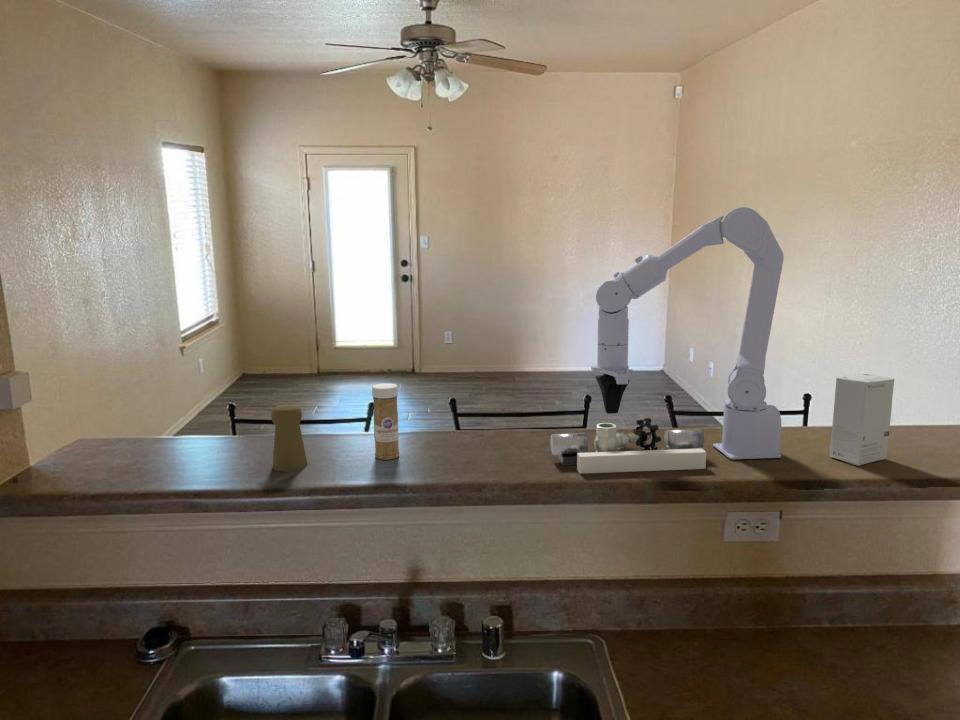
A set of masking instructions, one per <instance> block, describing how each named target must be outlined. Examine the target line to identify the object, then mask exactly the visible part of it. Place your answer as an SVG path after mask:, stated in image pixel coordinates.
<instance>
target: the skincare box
mask: <svg viewBox="0 0 960 720" xmlns="http://www.w3.org/2000/svg"><path fill="white" fill-rule="evenodd" d="M894 386H895V378H893V377H888V376H887V377H886V376H882V375H876V374H875V375H874V374H868V373H863V374H862V373H861V374H850V375H843V376H837V377H836V379H835V391H834V403H833V414H832V415H833V416H832V424H831V426H832V427H831V436H830V448H829V457H830V458H834V459H837V460H840V461H843V462H845V463H848V464H849V465H850V464H851V465H853V466H857V467H859V466H863V465H866V464H870V463H873V462H877V461H883V460H886V459H887V458H888V451H889V450H888V448H889V440H890V438H889V437H890V431H891V430H890V429H891V419H892V410H893V409H892V407H893V397H894V388H895V387H894Z"/></svg>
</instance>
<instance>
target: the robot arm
mask: <svg viewBox="0 0 960 720" xmlns="http://www.w3.org/2000/svg"><path fill="white" fill-rule="evenodd" d="M724 216H725V217H724ZM723 238H725V239H726V240H727V241H728V243H730V244H732V245H734V246H735V247H736V248H739V249H741V250H742V251H743V252H744V254H745V255H746V256H747V257H748V258H749V259H750V261H751V262H752V263H753V270H752V277H751V282H750V288H749V293H748V299H747V304H746V305H747V306H746V309H745V310H746V311H745V317H744V322H743V327H742V334H741V338H740V345H739V350H738V355H737V359H736V360H737V361H736V364H735V367H734V368H733V369H732V371H731V372H730V373H729V376H728V379H727V382H728V386H727V395H728V398H726V399H725V400H724V401H723V402H724V403H723V404H724V405H723V421H722V422H723V423H722V435H721V436H722V437H721V439H722V440H721V442H720V443H719V442H718V443H716V442H715V443H713V444H712V445H713V447H714V448H715V449H716V450H717V451H719V452H721V453H722V454H723V455H724V456H725V457H727V458H728V459H730V460H748V459H749V460H753V459H754V460H757V459H758V460H759V459H781V458H782V454H781V453H780V447H781V446H780V445H781V436H782V415H781V413H780V410H779V408H777V407H776V406H775V405H773V404H768V403H767V402H766V401H765V400H766V397H767V387H766V384H765V377H764V376H765V375H764V374H765V368H766V357H767V351H768V345H769V342H770V341H769V340H770V334H771V330H772V324H773V320H774V319H773V318H774V314H775V308H776V302H777V297H778V291H779V286H780V282H781V281H780V280H781V275H782V271H783V270H782V269H783V265H784V259H785V258H784V253H783V251H782V248H781V246H780V244H779V243H778V241H777V239H776V237H775V235H774V233H773V231H772V228H771V226H770V225H769V222H768V221H767V220H766V219H765V218H764V217H763V216H762V215H760V213H758V212H757V211H756V210H754V209H752V208H751V207H747V206H746V207H745V206H740V207H737V208H733V209H732V210H730V211H729V212H728V213H727V214H726V215H721V216H719V217H716V218H715V219H711V220H710V221H708V222H706V223H704V224H702V225H701V226H699V227H698V228H696V229H695V230H693V231H692V232H691V233H689V234H687V235H686V236H685V237H684V238H682V239H681V240H679V241H677V242H676V243H675V244H673V245H672V246H670V247H669V248H668V249H666V250H664V252H662V253H661V254H659V255H655V254H654V255H653V254H646V255H645V256H642V255H639V256H637V257H636V258H635V259H634V261H635V263H633V264H632V265H630V266H629V267H627V268H625V269H624V270H622V271H621V272H619V271H617V272H615V273H614V274H613V277H614V279H610V280H606V281H604V282H603V283H602V284H601V285H600V287H598V289H597V291H596V294H595V300H596V303H597V304H596V305H598V319H597V361H596V362H597V364H596V365H591V367H590V369H591V371H592V372H599V373H603V375H595V379H596V382H597V383H598V386H599V388H600V389H599V390H600V392H601V396H602V401H603V406H604V411H605V413H607V414H608V415H609V414H611V415H612V414H618V413H619V410H620V406H621V403H622V398H623V397H624V392H625V390H626V389H627V387H628V385H629V383H630V379H629V368H630V366H629V364H628V363H629V329H630V327H629V324H630V320H629V306H628V305H629V304H630V303H631V301H632V299H633V300H637V299H639V298H640V297H642V296H643V295H645V294H646V293H648V292H650V291H651V290H652V289H654V288H656V287H658V286H659V285H660V284H662V283H663V282H665V281H666V279H667V273H668V271H669V270H670V269H671V268H673V267H674V266H676V265H678V264H680V263H681V262H683V261H684V260H686V259H687V258H689V257H691V256H692V255H694V254H696V253H698V252H699V251H701V250H702V249H704V248H705V247H708V246H709V247H710V246H717V245H723V244H724V243H725V242H724V239H723Z"/></svg>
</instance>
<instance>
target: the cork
mask: <svg viewBox="0 0 960 720" xmlns="http://www.w3.org/2000/svg"><path fill="white" fill-rule="evenodd" d="M270 416H271V417H270V418H271V421H272V423H273V424H274V427H275V428H274V439H273V440H274V442H273V453H272V454H273V455H272V469H273V470H275V471H277V472H283V473H284V472H287V473H288V472H296V471H299V470H302V469H304V468H307V466H308V464H309V463H308V459H307V455H306V454H307V453H306V450H305V444H304V440H303V434H302V430H301V421H302V419H303V418H302V417H303V411H302V409H301V408H300V406H299V405H297V404H290V403H287V404H280V405H277V406H275V407H274V408H273V409H272V411H271V415H270Z"/></svg>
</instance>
